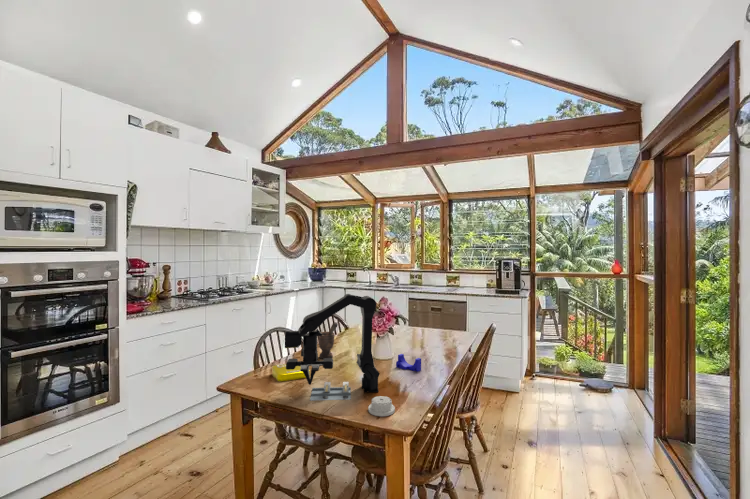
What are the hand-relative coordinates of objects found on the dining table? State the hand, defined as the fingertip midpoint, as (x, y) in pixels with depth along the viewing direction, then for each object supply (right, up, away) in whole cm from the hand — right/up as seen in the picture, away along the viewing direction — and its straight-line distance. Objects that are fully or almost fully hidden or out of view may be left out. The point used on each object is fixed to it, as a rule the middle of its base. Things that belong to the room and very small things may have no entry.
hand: (309, 384), depth 155 cm
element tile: (-13, -5, +22) cm, 26 cm away
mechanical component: (+29, -5, -14) cm, 33 cm away
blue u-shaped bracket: (+43, -4, +33) cm, 55 cm away
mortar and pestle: (+2, -4, +51) cm, 51 cm away
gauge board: (+9, -5, -1) cm, 10 cm away
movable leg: (+7, -3, -1) cm, 8 cm away
